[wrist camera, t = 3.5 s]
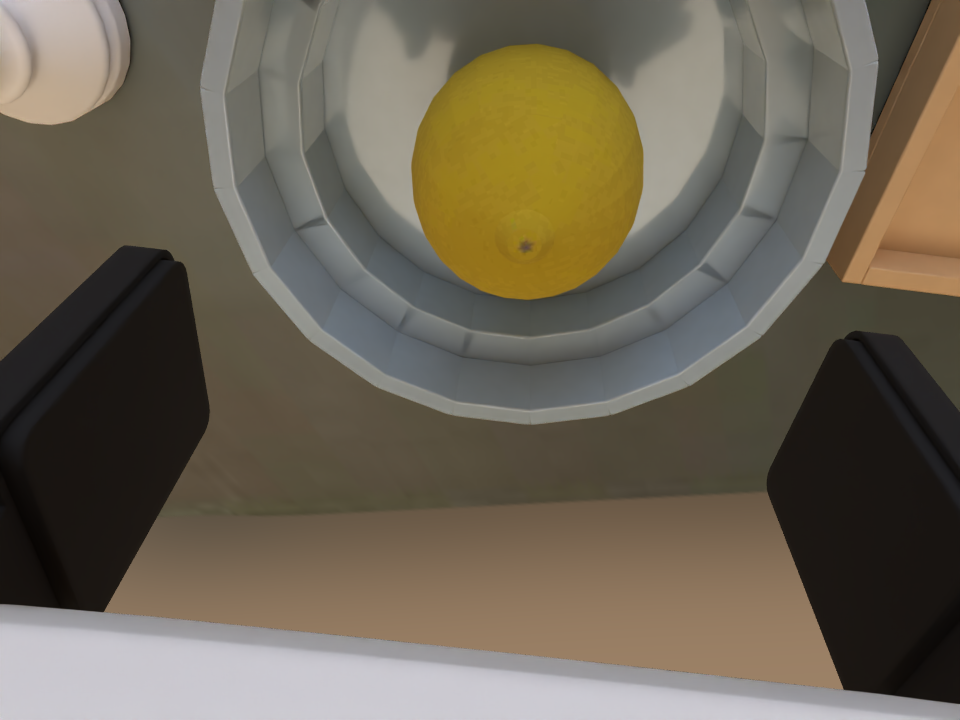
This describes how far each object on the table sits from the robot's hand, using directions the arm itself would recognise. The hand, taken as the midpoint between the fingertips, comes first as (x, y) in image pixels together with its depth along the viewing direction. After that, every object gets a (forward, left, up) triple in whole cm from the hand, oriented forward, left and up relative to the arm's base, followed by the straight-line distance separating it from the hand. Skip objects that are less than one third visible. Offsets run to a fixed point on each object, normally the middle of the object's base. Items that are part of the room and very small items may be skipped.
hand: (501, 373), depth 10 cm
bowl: (0, 0, -13) cm, 12 cm away
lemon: (0, 0, -12) cm, 12 cm away
